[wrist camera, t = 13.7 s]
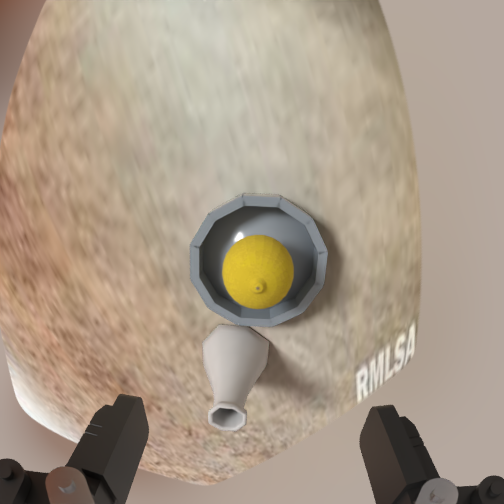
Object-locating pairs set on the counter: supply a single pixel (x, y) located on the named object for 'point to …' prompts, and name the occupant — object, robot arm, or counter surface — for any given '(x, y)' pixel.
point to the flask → (232, 372)
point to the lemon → (258, 271)
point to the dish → (258, 223)
